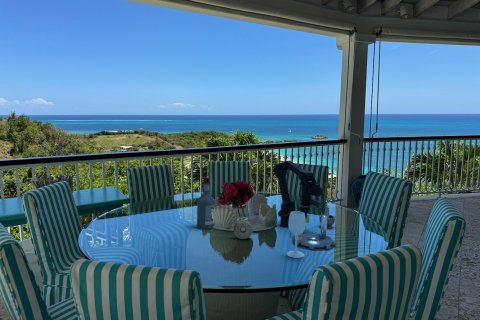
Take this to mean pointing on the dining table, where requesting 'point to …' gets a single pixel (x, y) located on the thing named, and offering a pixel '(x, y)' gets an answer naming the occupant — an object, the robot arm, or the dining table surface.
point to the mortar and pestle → (328, 218)
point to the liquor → (205, 207)
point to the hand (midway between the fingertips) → (304, 219)
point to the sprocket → (316, 238)
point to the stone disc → (243, 234)
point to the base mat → (314, 249)
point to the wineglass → (296, 230)
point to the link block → (307, 218)
